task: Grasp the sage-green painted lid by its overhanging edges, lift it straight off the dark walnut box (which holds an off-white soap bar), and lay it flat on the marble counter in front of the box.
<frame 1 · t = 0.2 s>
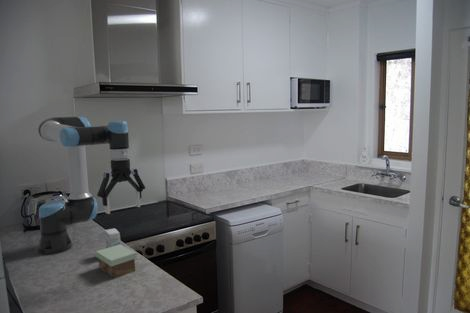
hand: (123, 209, 149), 26 cm above the worktop, fingers open, 13 cm apart
ink box: (114, 255, 168), on the worktop
lid: (116, 259, 151), point 5 cm above the worktop, touching box
box: (117, 271, 151), on the worktop
soap bar: (117, 269, 151), point 1 cm above the worktop, touching box
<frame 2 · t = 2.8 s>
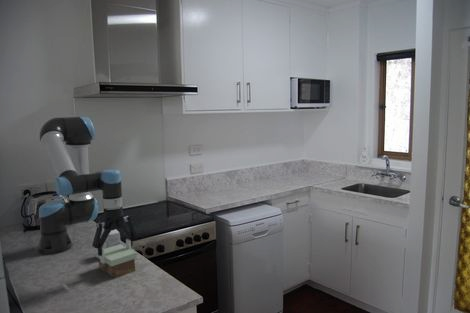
hand: (116, 258, 150), 6 cm above the worktop, fingers closed on lid, 11 cm apart
lid: (116, 259, 151), point 5 cm above the worktop, touching box, gripper
everything else where it was.
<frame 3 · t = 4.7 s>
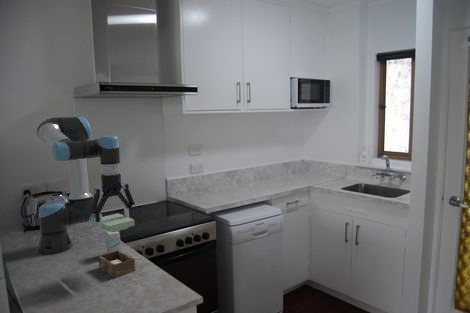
hand: (114, 225, 149), 20 cm above the worktop, fingers closed on lid, 11 cm apart
lid: (114, 227, 149), point 19 cm above the worktop, touching gripper
everything else where it was.
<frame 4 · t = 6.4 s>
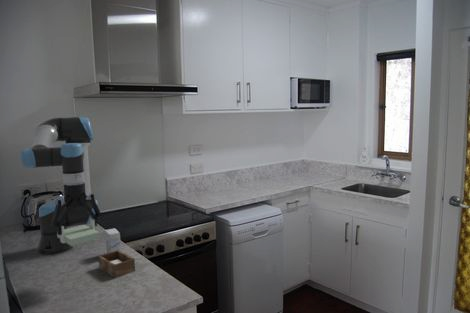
hand: (78, 238, 141), 18 cm above the worktop, fingers closed on lid, 11 cm apart
lid: (78, 240, 141), point 17 cm above the worktop, touching gripper
everything else where it was.
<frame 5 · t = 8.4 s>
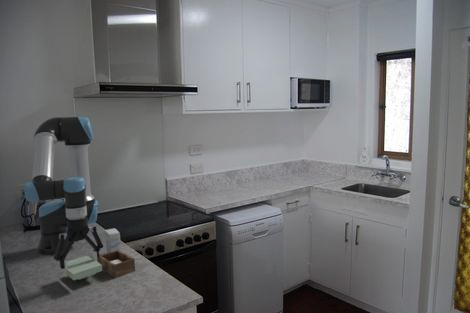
hand: (81, 270, 142), 4 cm above the worktop, fingers closed on lid, 11 cm apart
lid: (81, 272, 142), point 4 cm above the worktop, touching gripper
everything else where it was.
when the fingers open (2 cm above the worktop, at t = 10.1 s): lid drops 1 cm, on the worktop.
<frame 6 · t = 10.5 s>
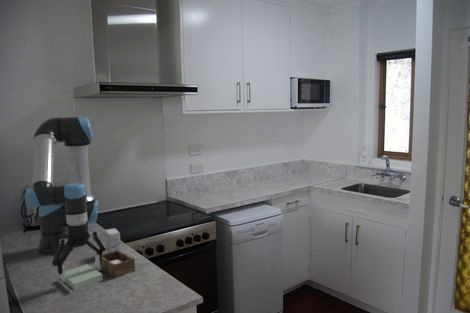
hand: (81, 275, 142), 3 cm above the worktop, fingers open, 13 cm apart
lid: (81, 281, 143), on the worktop
everything else where it was.
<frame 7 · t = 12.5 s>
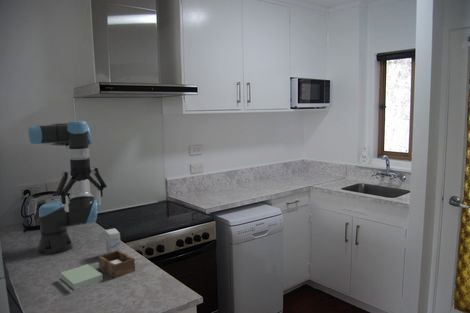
hand: (83, 207, 152), 27 cm above the worktop, fingers open, 13 cm apart
nothing on the worktop moved.
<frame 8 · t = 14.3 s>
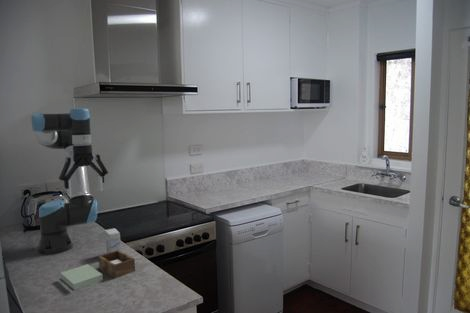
hand: (85, 193, 156), 32 cm above the worktop, fingers open, 13 cm apart
nothing on the worktop moved.
at the end: lid inside the target area (0.0 cm from its centre), on the worktop; lid tilted 0°; lid touching worktop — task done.
